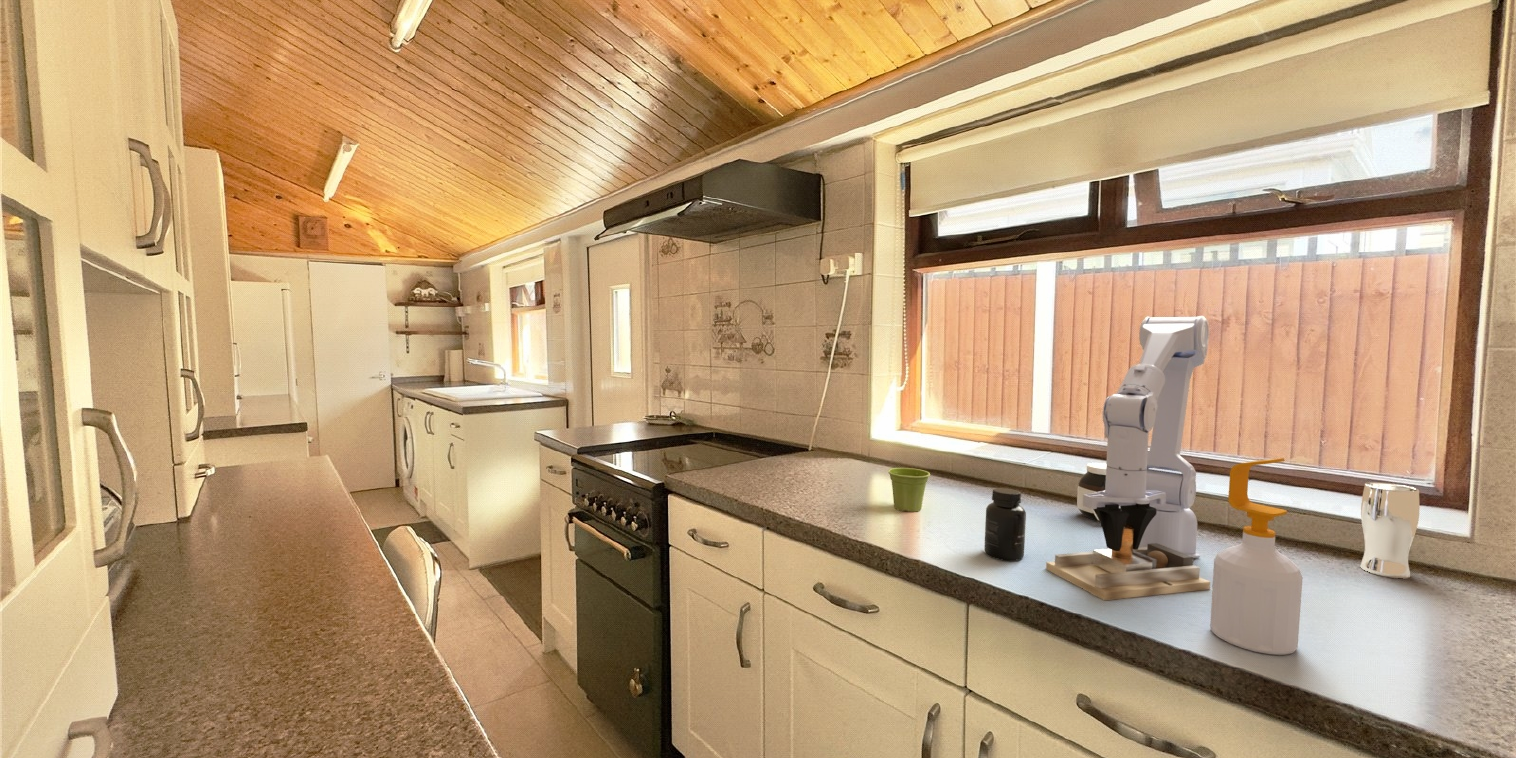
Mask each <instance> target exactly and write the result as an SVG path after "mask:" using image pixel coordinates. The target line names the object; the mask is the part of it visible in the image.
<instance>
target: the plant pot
mask: <svg viewBox="0 0 1516 758" xmlns="http://www.w3.org/2000/svg"><path fill="white" fill-rule="evenodd" d="M887 472H888V474H889V477H890V481H891V487H892V499H893V506H894V509H896V510H898V511H901V512H905V511H908V512H912V513H914V512H919V511H921V510H922V507H923V501H924V496H925V489H926V485H927V482H928V479H929V477H930V476H931V473H930V472H929V471H927V470H923V469H918V468H913V467H912V468H910V467H895V468H894V467H893V468H890V469H888V471H887Z"/></svg>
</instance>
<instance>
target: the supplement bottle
mask: <svg viewBox="0 0 1516 758" xmlns="http://www.w3.org/2000/svg"><path fill="white" fill-rule="evenodd" d="M1021 498H1022V492H1020V491H1019V490H1016V489H1012V488H1005V487H999V488H998V487H997V488H993V490H992V496H991V501H993V502H991V503H989V504H988V505H987V506H986V508H985V524H984V526H985V527H984V546H983V547H984V548H983V549H984V553H985V554H986V556H988V557H990V558H993V559H996V560H1000V561H1004V562H1005V561H1006V562H1007V561H1008V562H1017V561H1020V560H1022V559H1023V558H1024V556H1025V546H1026V545H1025V544H1026V543H1025V542H1026V540H1025V539H1026V522H1027V512H1026V510H1025V508H1024V507H1023V506H1022V505H1020V504H1022V499H1021Z"/></svg>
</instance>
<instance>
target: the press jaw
mask: <svg viewBox="0 0 1516 758" xmlns="http://www.w3.org/2000/svg"><path fill="white" fill-rule="evenodd" d="M1133 538H1134V527H1132V526H1130V525H1126V524H1125V525H1124V529H1123V534H1122V543H1121V548H1120V551H1114V550H1112V549H1109V548H1100V549H1093V550H1092V552H1093V562H1092V564H1094V565H1096V566H1098V567H1100V568H1102V569H1105V570H1107V571H1109V572H1111V573H1118V572H1129V571H1140V570H1150V569H1156V561H1157V560H1156V559H1154V558H1151V557H1149V556H1146V555H1144V554H1142V553H1139V552H1137V551H1134V550H1133Z"/></svg>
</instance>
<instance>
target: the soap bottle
mask: <svg viewBox="0 0 1516 758" xmlns="http://www.w3.org/2000/svg"><path fill="white" fill-rule="evenodd" d="M1281 462H1282V463H1283V462H1285V458H1283V457H1280V458H1273V459H1271V458H1270V459H1264V460H1263V459H1261V460H1254V461H1247V462H1243V463H1242V462H1240V463H1237V464H1235V465H1233V466H1232V467H1231V468H1230V470H1229V484H1228V486H1229V487H1228V504H1229V505H1230V506H1231V507H1232V508H1233V509H1235V510H1239V511H1242V512H1246V517H1247V518H1249V519H1251V525H1246V526H1243V528H1242V530H1243V531H1242V539H1241V540H1242V542H1241V543H1240V544H1237V545H1233V546H1230V547H1227V548H1225V549H1223V550H1221V551H1219V552H1217V554H1216V556H1215V558H1214V559H1213V573H1212V574H1213V575H1212V589H1211V605H1210V606H1211V607H1210V618H1209V619H1210V622H1209V626H1210V630H1211V632H1212V633H1213V634H1215V635H1216V637H1218V638H1220V639H1221V640H1223V641H1225V642H1227V643H1228V644H1231V645H1233V646H1236V647H1238V648H1241V649H1244V650H1247V651H1251V652H1254V653H1258V654H1259V653H1260V654H1266V655H1276V656H1281V655H1283V656H1284V655H1290V654H1293V653H1295V651H1296V650H1297V649H1298V647H1299V633H1300V620H1301V619H1300V617H1301V606H1302V605H1301V603H1302V594H1303V593H1302V591H1303V575H1302V572H1301V569H1300V568H1299V567H1298V565H1297V564H1296V563H1294V561H1292V560H1291V559H1290V558H1289V557H1287V556H1286V555H1284V554H1283V553H1280V552H1279V551H1278V550H1277V549H1276V531H1275V530H1272V529H1270V528H1268V527H1269V522H1272V521H1274V520H1275V519H1274V518H1275V517H1276V518H1277V517H1280V516H1284V515H1287V514H1288V511H1287V509H1282V508H1277V507H1273V506H1267V505H1264V504H1258V503H1254V502H1252V501H1251V500H1250V499H1249V496H1248V490H1249V489H1248V487H1249V485H1248V484H1249V474H1250V469H1251V468H1252V467H1253V466H1257V465H1259V466H1260V465H1268V464H1275V463H1281Z"/></svg>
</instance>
